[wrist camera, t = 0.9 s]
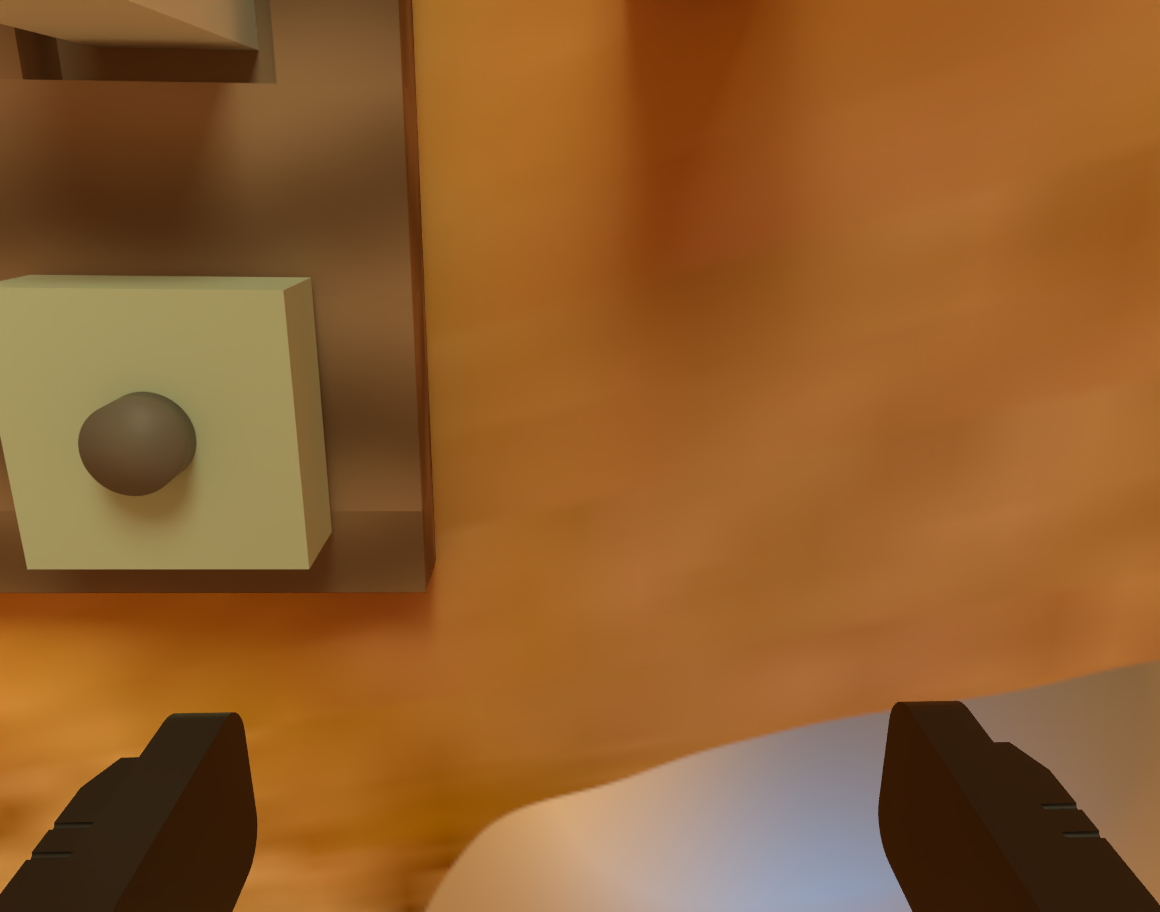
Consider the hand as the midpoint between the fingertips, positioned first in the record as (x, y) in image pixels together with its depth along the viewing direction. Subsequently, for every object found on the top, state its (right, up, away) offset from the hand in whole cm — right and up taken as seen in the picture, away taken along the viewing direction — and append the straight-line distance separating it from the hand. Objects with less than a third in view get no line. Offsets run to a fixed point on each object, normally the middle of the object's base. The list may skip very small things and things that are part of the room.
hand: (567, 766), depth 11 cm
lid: (-11, +5, +14) cm, 19 cm away
